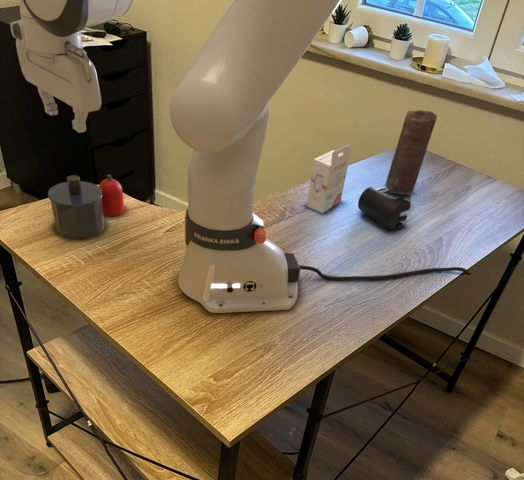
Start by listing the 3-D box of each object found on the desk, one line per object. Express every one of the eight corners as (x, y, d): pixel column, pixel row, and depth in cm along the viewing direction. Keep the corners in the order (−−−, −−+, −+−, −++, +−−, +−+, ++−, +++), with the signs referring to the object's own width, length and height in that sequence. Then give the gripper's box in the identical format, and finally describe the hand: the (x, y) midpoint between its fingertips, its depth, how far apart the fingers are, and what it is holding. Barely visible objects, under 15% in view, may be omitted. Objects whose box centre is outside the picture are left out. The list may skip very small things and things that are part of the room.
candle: (414, 200, 136) (440, 120, 122) (386, 197, 135) (409, 116, 122) (409, 187, 141) (433, 109, 128) (382, 184, 141) (403, 105, 128)
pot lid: (107, 189, 109) (105, 169, 107) (96, 212, 102) (94, 192, 99) (56, 184, 109) (53, 164, 106) (42, 208, 101) (38, 187, 98)
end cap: (354, 215, 126) (360, 188, 122) (374, 209, 130) (381, 182, 125) (384, 234, 121) (392, 207, 116) (405, 227, 124) (413, 201, 120)
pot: (108, 217, 113) (105, 186, 109) (98, 240, 106) (95, 209, 102) (62, 213, 113) (57, 182, 108) (49, 236, 106) (43, 204, 101)
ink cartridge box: (323, 195, 132) (335, 136, 122) (340, 202, 130) (353, 143, 120) (304, 206, 127) (315, 145, 117) (322, 214, 125) (334, 152, 115)
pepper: (126, 206, 118) (123, 171, 112) (121, 217, 114) (119, 181, 109) (103, 204, 117) (99, 169, 112) (98, 215, 114) (94, 179, 108)
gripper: (106, 49, 83) (113, 138, 92) (39, 19, 93) (52, 102, 102) (69, 54, 79) (81, 145, 89) (4, 22, 89) (21, 107, 98)
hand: (65, 122), depth 95 cm, fingers open, 8 cm apart
